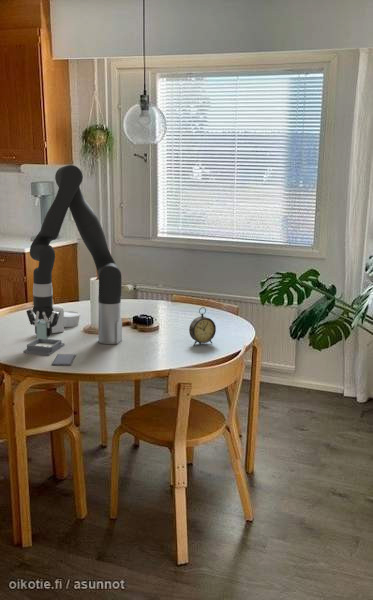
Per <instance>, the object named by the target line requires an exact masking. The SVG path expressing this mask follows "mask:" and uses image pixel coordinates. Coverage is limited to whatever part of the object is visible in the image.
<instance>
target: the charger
mask: <svg viewBox="0 0 373 600" xmlns="http://www.w3.org/2000/svg"><path fill="white" fill-rule="evenodd" d="M36 327H37V335H36V339H37V338H38V339H50V338H51V336H49V337H47V324H46V323H45V322H44V321H41V322H39V323H37V324H36Z"/></svg>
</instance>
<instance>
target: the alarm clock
mask: <svg viewBox="0 0 373 600" xmlns="http://www.w3.org/2000/svg"><path fill="white" fill-rule="evenodd" d="M202 309H204V310H205V311H204V312H203V313H201V312H200V311H201V310H202ZM206 312H207V308H206V307H203V306H202V307H200V308H199V309H198V313H199V314H200V316H197V317H195V318H194V319H193V320H191V323H190V325H189V331H188V333H189V335H190V337H191V339H192V340H193V341H194V343H193V344H192V346H193V347H195V345H196V344H197V343H199V344H207V343H209V342H210V344H213V341H212V340H213V338H214V337H215V335H216V331H217V330H216V329H217V327H216V324H215V322H214V320H212V319H211V318H209V317H206V316H204V315H205V313H206Z"/></svg>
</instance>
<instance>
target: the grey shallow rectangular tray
mask: <svg viewBox="0 0 373 600" xmlns="http://www.w3.org/2000/svg"><path fill="white" fill-rule="evenodd" d="M65 345H66V344H65V342H64V343H63V342H62V340H61V339H53V338H48V339H38V338H37V337H36V339H34V340H32V341H31V342H29V343H27V344H26V348H25V349H24V350H22V351H23V354H30V355H40V356H51V355H52V354H54V353H55V352H56V351H58V350H60V349H61V348H62V347H64V346H65Z"/></svg>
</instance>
